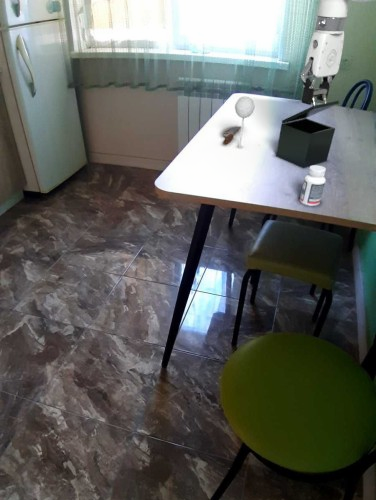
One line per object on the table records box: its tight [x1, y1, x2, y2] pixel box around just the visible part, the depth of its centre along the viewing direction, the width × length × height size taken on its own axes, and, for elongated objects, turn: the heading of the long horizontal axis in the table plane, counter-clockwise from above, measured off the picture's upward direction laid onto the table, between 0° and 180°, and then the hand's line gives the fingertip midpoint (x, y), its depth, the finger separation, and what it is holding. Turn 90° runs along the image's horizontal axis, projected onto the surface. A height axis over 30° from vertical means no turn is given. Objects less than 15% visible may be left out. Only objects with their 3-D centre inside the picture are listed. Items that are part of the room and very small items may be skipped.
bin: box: [275, 117, 336, 169], centre depth 127 cm, size 12×11×10 cm
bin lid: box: [281, 87, 340, 124], centre depth 121 cm, size 12×11×5 cm
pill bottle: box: [299, 164, 327, 207], centre depth 105 cm, size 5×5×9 cm
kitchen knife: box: [222, 126, 241, 145], centre depth 144 cm, size 21×2×5 cm
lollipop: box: [234, 96, 255, 148], centre depth 131 cm, size 6×6×15 cm
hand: (314, 101), depth 120 cm, fingers closed on bin lid, 6 cm apart
